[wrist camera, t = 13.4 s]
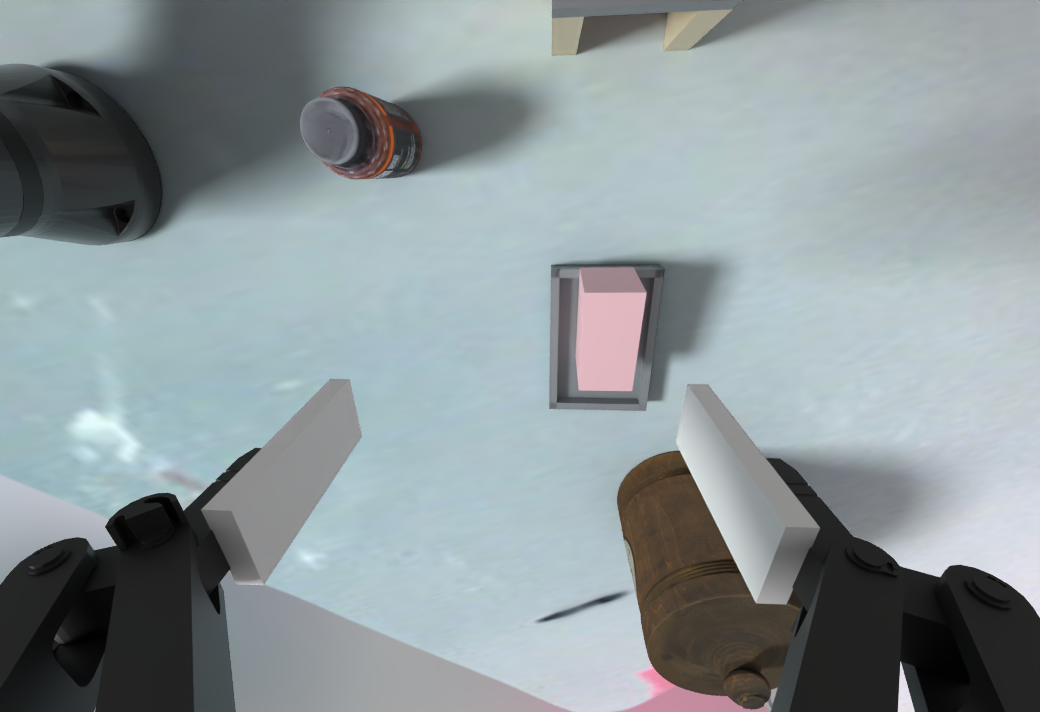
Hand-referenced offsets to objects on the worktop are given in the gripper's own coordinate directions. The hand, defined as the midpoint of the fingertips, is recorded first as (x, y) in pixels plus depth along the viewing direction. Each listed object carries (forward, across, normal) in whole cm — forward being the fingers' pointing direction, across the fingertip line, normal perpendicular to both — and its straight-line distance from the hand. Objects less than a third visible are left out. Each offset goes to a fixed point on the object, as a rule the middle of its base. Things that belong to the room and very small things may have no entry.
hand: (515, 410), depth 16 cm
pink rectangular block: (+25, +7, -5) cm, 27 cm away
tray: (+26, +8, -8) cm, 29 cm away
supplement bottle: (+28, -13, +11) cm, 32 cm away
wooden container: (+26, +19, -30) cm, 44 cm away
